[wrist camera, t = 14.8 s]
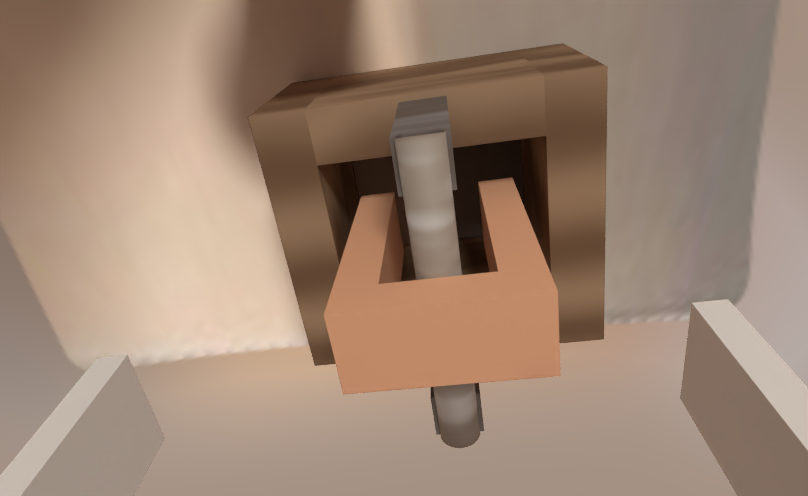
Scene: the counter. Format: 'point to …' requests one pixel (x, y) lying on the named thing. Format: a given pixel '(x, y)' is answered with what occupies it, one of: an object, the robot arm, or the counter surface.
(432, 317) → the block
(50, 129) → the counter surface
